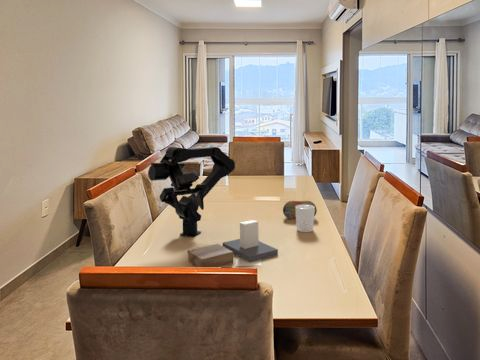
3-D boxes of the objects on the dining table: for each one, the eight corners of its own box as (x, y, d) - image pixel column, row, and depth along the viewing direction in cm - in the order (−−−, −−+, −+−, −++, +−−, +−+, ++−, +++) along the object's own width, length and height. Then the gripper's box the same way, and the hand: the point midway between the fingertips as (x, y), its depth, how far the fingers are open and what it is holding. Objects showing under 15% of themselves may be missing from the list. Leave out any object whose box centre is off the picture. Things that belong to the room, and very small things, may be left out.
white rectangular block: (240, 246, 165) (239, 222, 163) (253, 243, 168) (253, 219, 166) (244, 248, 162) (244, 224, 161) (258, 245, 166) (258, 221, 164)
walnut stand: (188, 261, 156) (187, 250, 156) (218, 254, 163) (218, 243, 162) (202, 270, 148) (201, 259, 147) (233, 263, 155) (233, 251, 154)
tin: (282, 219, 207) (282, 201, 205) (283, 217, 210) (283, 199, 208) (316, 220, 204) (316, 201, 203) (316, 218, 207) (316, 200, 206)
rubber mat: (222, 247, 170) (222, 242, 170) (249, 241, 176) (249, 236, 176) (249, 262, 155) (249, 256, 155) (277, 254, 161) (277, 249, 161)
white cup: (291, 230, 190) (291, 207, 188) (302, 226, 195) (302, 203, 193) (307, 234, 184) (307, 210, 182) (318, 229, 190) (318, 206, 188)
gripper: (162, 166, 166) (177, 201, 159) (205, 163, 177) (221, 195, 170) (153, 184, 174) (167, 218, 167) (195, 180, 185) (210, 212, 178)
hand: (192, 210), depth 170 cm, fingers open, 9 cm apart
